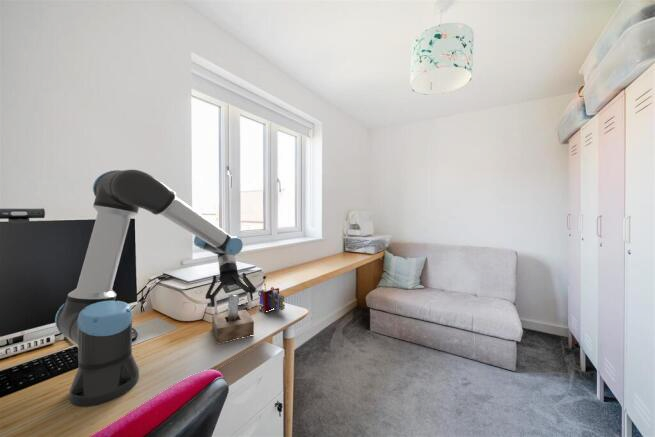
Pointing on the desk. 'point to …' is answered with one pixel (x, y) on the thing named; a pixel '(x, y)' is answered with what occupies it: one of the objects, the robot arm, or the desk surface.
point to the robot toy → (270, 299)
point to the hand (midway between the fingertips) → (233, 310)
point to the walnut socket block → (232, 326)
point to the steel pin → (233, 307)
